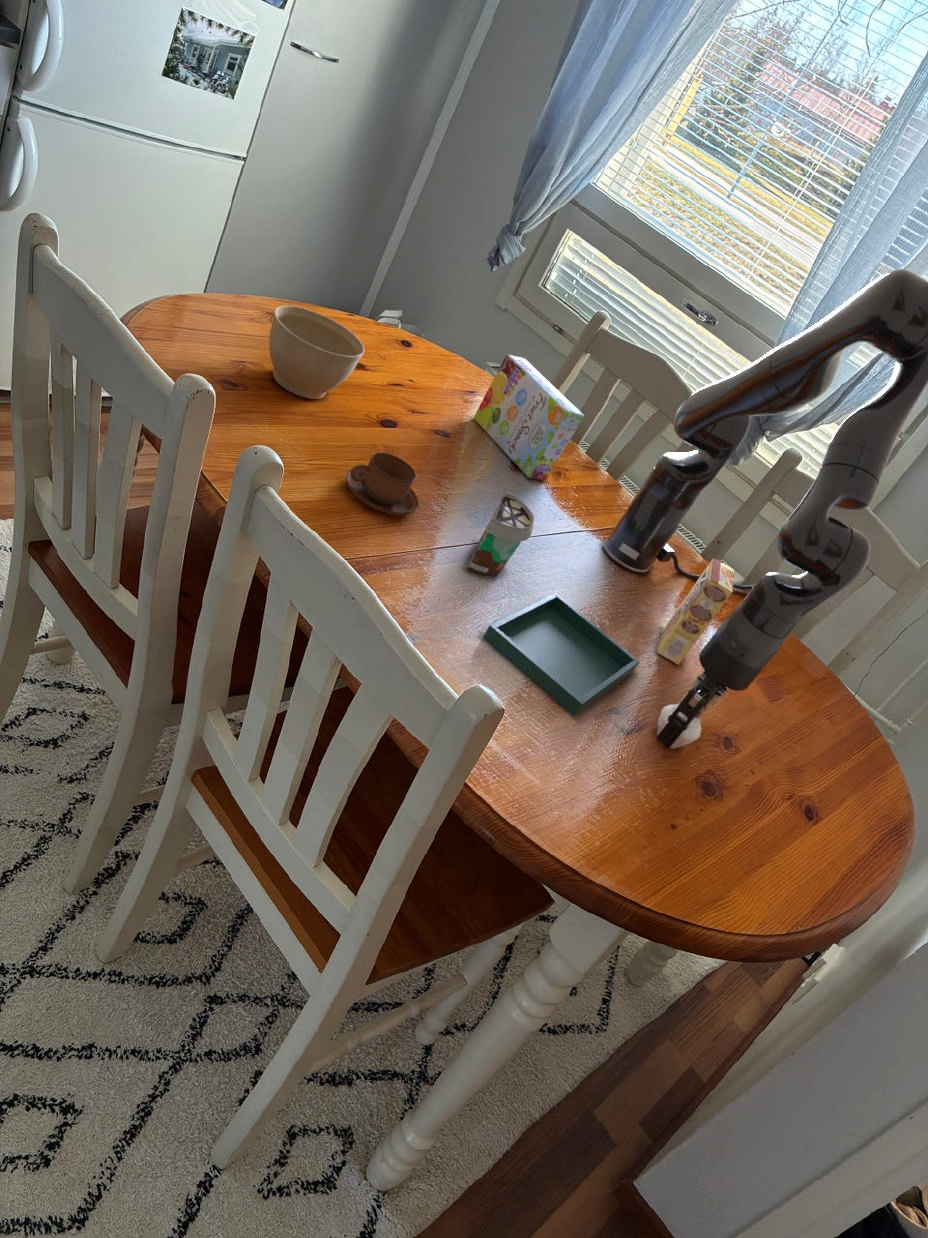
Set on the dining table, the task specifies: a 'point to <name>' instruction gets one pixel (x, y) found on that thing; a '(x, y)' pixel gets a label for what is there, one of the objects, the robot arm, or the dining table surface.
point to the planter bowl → (311, 351)
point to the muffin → (687, 735)
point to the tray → (561, 652)
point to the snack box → (527, 417)
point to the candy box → (696, 611)
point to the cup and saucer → (384, 484)
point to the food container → (502, 536)
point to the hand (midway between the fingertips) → (673, 732)
